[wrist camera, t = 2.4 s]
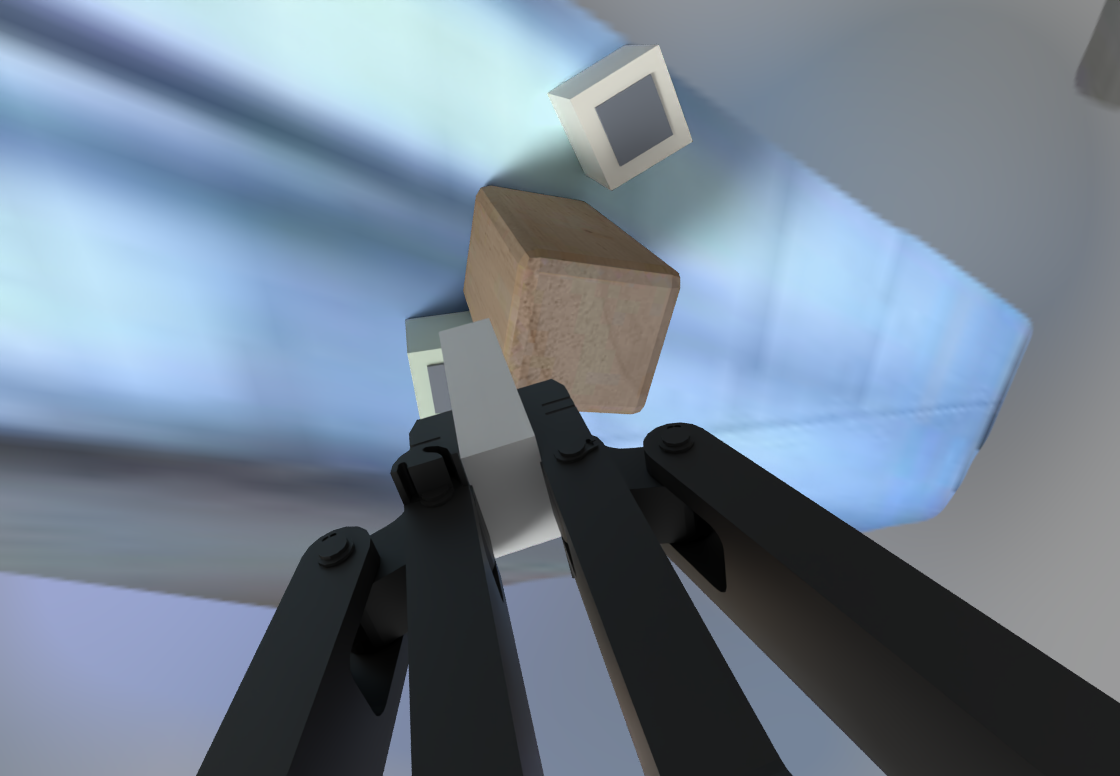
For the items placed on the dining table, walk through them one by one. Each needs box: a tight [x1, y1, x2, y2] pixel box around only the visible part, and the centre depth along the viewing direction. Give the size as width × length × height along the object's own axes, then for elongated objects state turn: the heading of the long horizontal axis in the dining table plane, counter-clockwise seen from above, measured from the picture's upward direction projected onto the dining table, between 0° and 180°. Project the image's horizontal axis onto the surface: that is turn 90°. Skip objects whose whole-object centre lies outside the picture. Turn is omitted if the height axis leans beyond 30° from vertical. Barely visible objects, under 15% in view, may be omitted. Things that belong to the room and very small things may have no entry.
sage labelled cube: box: [405, 311, 473, 419], centre depth 52 cm, size 7×7×7 cm
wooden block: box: [463, 186, 680, 414], centre depth 44 cm, size 10×10×20 cm
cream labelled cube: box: [547, 45, 693, 191], centre depth 45 cm, size 7×7×7 cm
